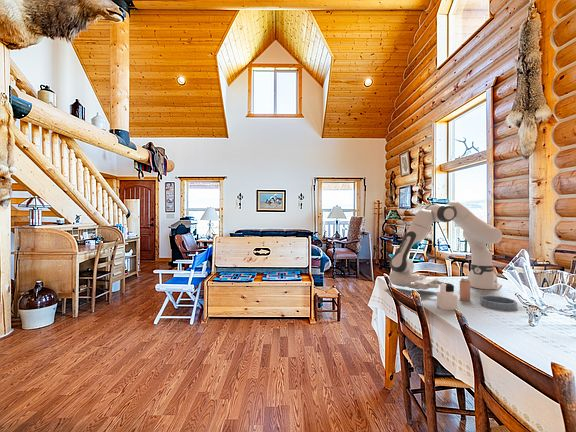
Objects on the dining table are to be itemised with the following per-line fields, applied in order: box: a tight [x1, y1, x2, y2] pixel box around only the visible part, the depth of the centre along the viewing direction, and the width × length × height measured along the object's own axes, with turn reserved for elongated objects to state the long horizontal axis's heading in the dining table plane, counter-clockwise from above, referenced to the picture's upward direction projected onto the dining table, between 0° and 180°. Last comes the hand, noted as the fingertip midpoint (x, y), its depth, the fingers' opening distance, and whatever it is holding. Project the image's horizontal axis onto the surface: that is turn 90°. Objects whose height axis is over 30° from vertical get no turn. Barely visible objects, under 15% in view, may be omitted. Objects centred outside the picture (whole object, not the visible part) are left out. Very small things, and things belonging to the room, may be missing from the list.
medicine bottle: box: [436, 282, 459, 311], centre depth 151 cm, size 7×7×12 cm
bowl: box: [479, 295, 518, 311], centre depth 154 cm, size 15×15×3 cm
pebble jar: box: [459, 277, 471, 302], centre depth 165 cm, size 5×5×12 cm
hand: (440, 285), depth 173 cm, fingers open, 8 cm apart
